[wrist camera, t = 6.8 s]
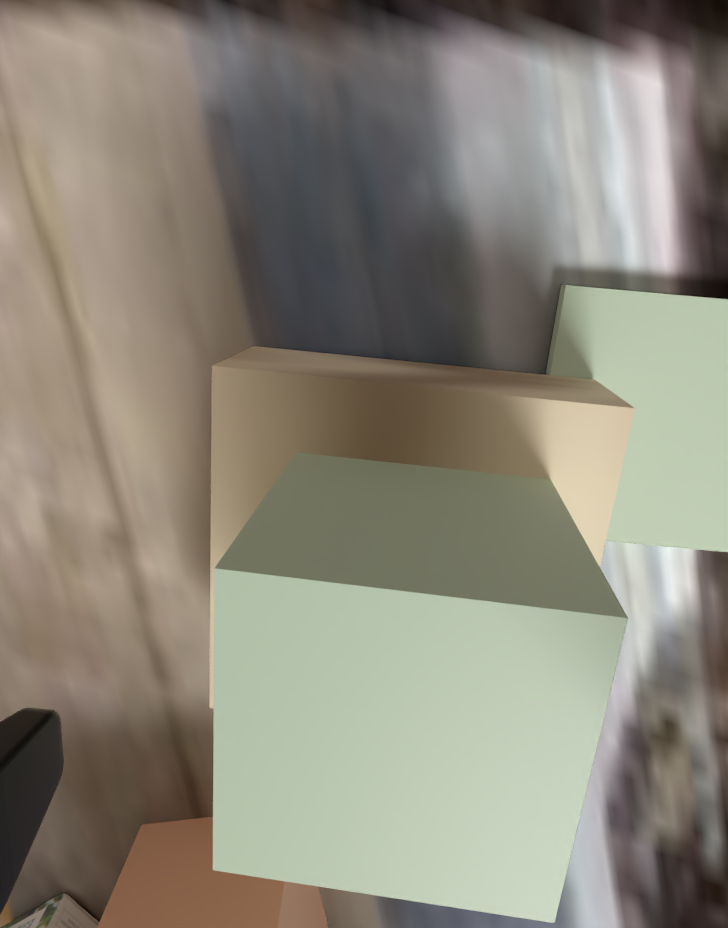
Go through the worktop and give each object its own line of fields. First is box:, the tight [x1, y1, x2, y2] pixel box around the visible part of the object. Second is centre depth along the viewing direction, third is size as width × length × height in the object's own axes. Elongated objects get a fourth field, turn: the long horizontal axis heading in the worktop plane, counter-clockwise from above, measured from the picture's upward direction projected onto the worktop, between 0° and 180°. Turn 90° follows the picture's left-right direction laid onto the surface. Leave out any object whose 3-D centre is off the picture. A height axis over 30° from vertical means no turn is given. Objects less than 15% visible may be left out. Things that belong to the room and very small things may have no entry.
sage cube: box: [213, 452, 628, 923], centre depth 11 cm, size 5×5×5 cm
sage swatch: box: [546, 285, 728, 552], centre depth 15 cm, size 6×6×1 cm
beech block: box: [209, 346, 635, 709], centre depth 15 cm, size 8×8×3 cm
